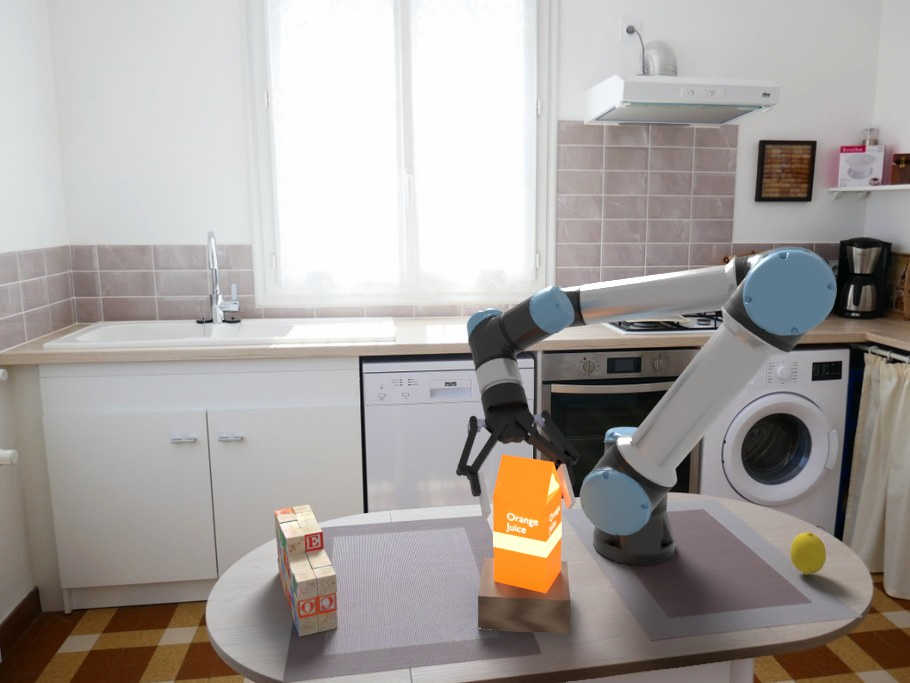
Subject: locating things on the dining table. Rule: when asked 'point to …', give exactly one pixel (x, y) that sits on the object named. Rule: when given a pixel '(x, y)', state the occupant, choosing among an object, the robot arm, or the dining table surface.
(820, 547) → the lemon
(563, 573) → the base brick
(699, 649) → the dining table surface
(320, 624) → the stack of blocks
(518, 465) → the orange juice
